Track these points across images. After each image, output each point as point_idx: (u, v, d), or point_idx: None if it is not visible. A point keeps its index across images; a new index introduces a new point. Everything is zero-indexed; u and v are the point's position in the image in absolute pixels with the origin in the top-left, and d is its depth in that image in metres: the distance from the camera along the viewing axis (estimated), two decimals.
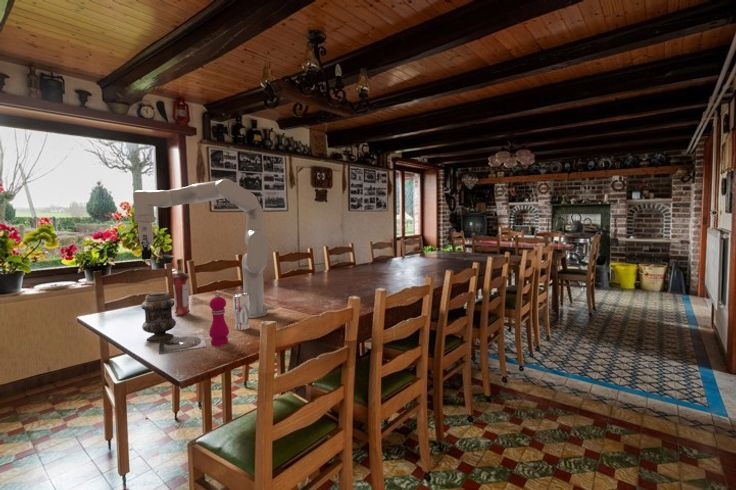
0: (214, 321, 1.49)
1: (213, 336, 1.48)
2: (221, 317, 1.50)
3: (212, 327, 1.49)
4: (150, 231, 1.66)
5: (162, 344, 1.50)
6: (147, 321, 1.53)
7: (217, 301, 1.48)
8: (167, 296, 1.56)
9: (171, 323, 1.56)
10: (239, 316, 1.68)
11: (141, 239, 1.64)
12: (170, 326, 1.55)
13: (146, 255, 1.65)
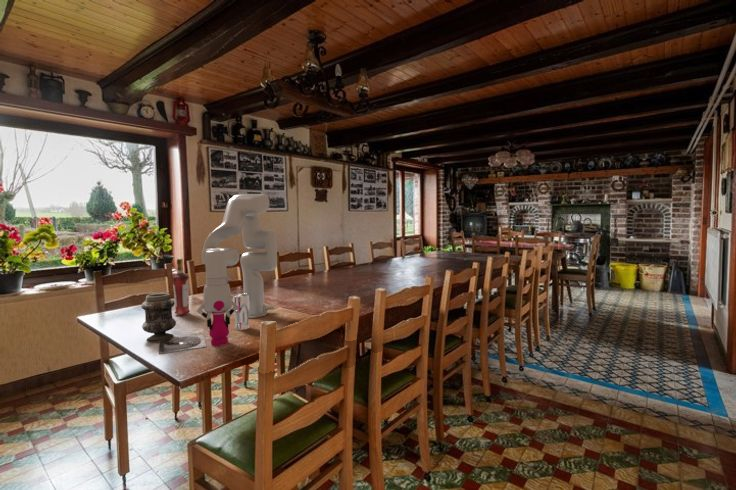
0: (214, 321, 1.49)
1: (213, 336, 1.48)
2: (221, 317, 1.50)
3: (212, 327, 1.49)
4: None
5: (162, 344, 1.50)
6: (147, 321, 1.53)
7: (217, 301, 1.48)
8: (167, 296, 1.56)
9: (171, 323, 1.56)
10: (239, 316, 1.68)
11: (231, 302, 1.51)
12: (170, 326, 1.55)
13: None
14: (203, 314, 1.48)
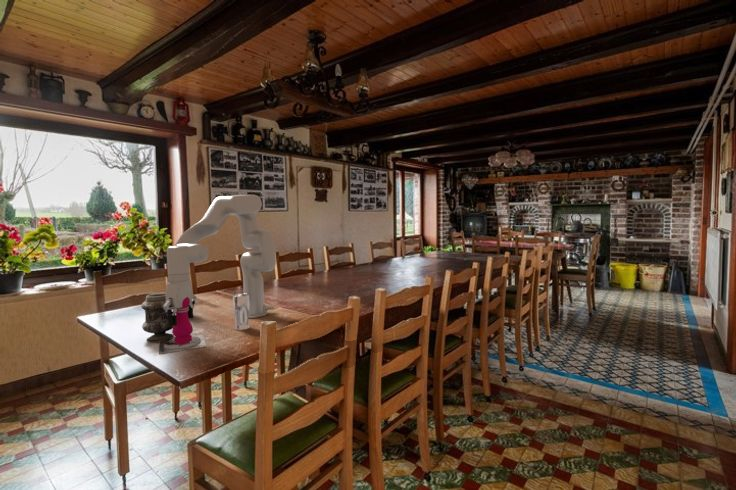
0: (182, 319, 1.49)
1: (184, 333, 1.49)
2: (187, 314, 1.51)
3: (181, 325, 1.48)
4: None
5: (162, 344, 1.50)
6: (147, 321, 1.53)
7: (186, 298, 1.49)
8: None
9: None
10: (239, 316, 1.68)
11: None
12: (170, 326, 1.55)
13: None
14: (169, 311, 1.43)
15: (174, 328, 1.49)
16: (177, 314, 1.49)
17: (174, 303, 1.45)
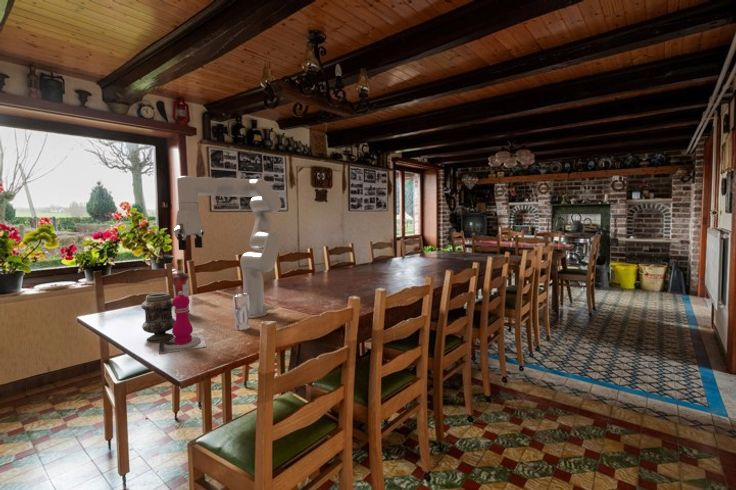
0: (182, 319, 1.49)
1: (184, 334, 1.49)
2: (187, 314, 1.51)
3: (181, 325, 1.48)
4: None
5: (162, 344, 1.50)
6: (147, 321, 1.53)
7: (185, 298, 1.49)
8: (167, 296, 1.56)
9: (171, 323, 1.56)
10: (239, 316, 1.68)
11: None
12: (170, 326, 1.55)
13: None
14: (179, 235, 1.52)
15: (174, 328, 1.49)
16: (177, 314, 1.49)
17: (184, 228, 1.53)
